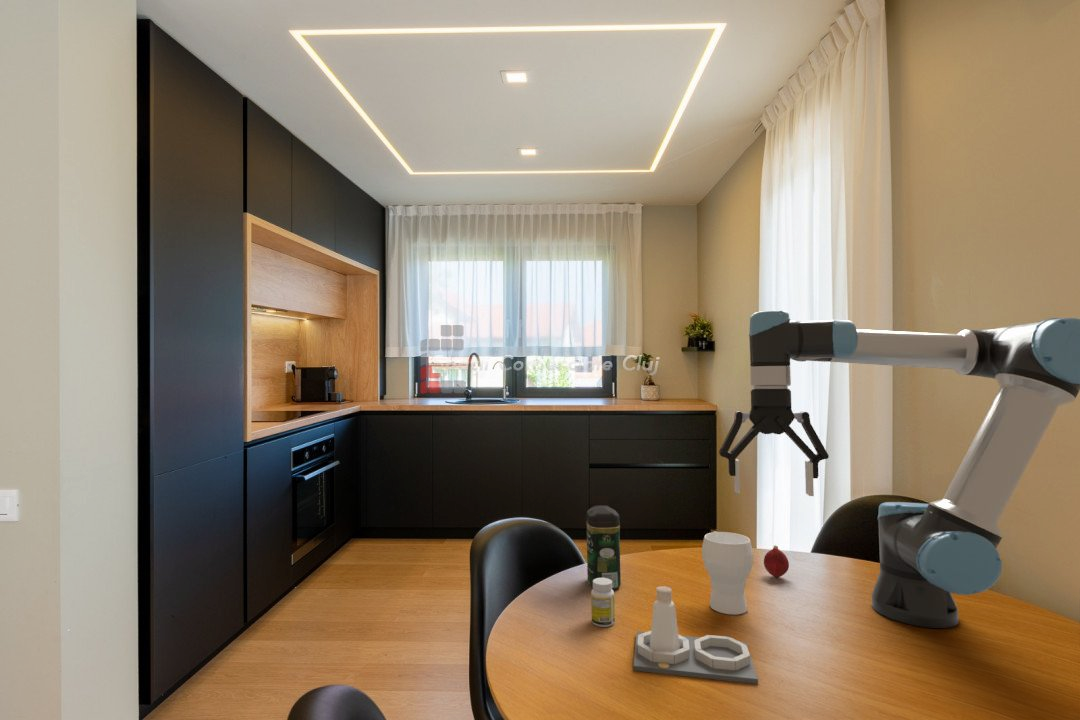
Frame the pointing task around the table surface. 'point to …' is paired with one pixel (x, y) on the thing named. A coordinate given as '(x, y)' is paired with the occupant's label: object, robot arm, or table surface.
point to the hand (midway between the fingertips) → (773, 493)
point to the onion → (776, 562)
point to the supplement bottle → (602, 603)
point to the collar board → (698, 666)
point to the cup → (727, 570)
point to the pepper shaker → (664, 622)
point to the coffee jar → (603, 545)
